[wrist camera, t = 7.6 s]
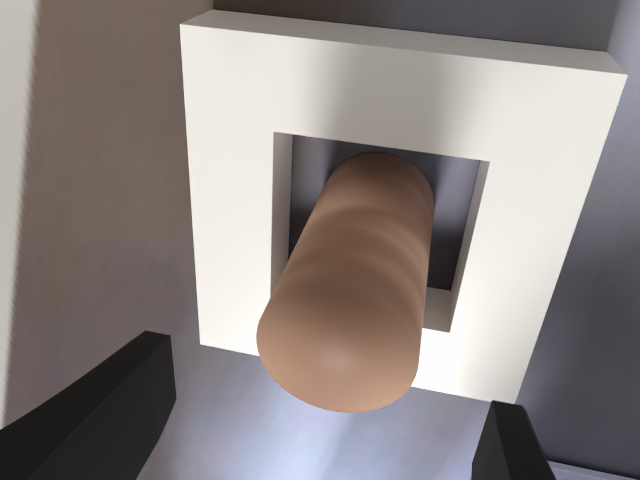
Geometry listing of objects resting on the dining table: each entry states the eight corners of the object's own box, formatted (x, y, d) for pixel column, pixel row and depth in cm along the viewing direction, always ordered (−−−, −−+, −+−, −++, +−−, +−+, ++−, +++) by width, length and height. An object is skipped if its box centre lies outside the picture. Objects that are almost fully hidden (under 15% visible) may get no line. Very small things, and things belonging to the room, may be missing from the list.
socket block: (606, 51, 16) (628, 74, 14) (508, 359, 23) (513, 406, 21) (212, 9, 18) (179, 24, 16) (222, 305, 25) (200, 344, 22)
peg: (444, 162, 19) (433, 304, 12) (423, 260, 21) (404, 427, 15) (328, 143, 20) (258, 269, 13) (318, 241, 22) (254, 393, 15)
